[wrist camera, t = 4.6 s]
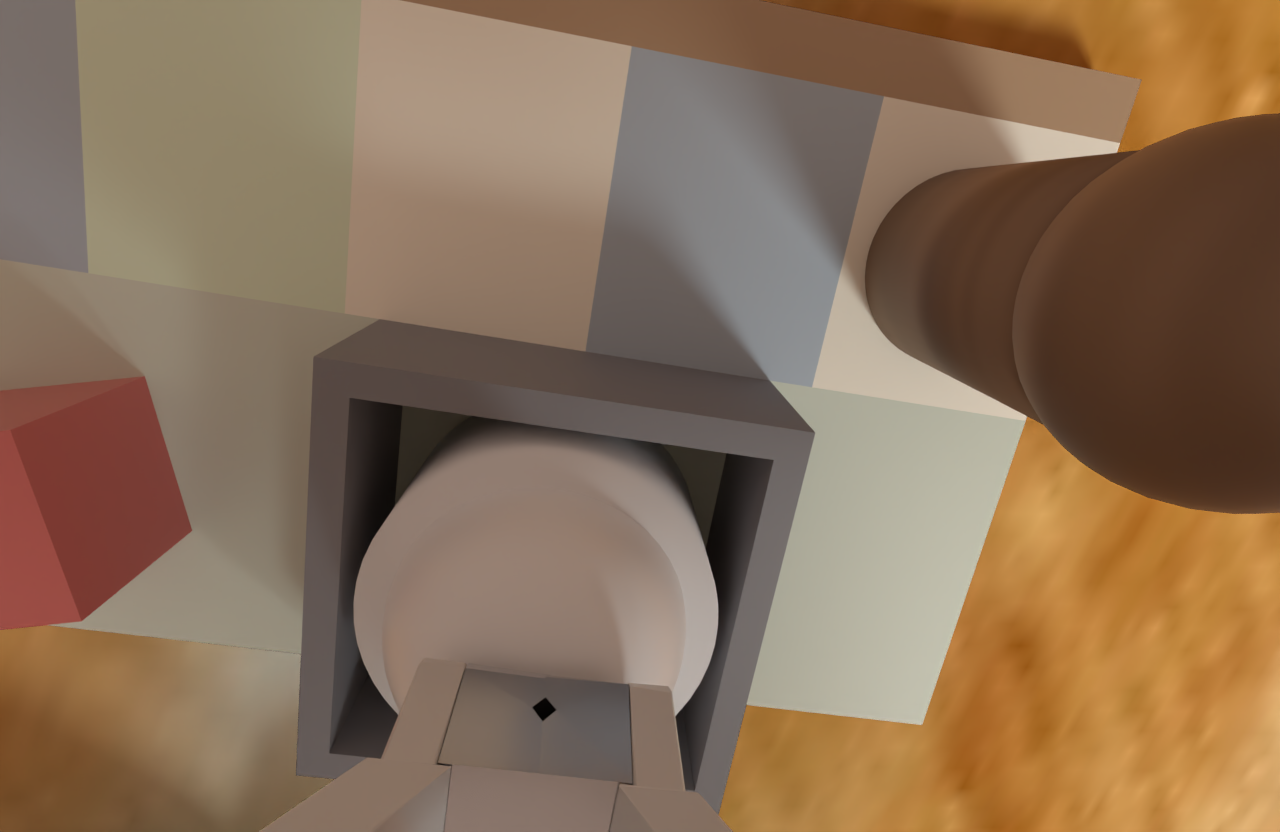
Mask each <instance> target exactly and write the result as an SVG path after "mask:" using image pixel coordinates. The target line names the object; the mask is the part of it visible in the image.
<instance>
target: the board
mask: <svg viewBox="0 0 1280 832" xmlns="http://www.w3.org/2000/svg"><path fill="white" fill-rule="evenodd" d="M1140 83H1141V79H1136V78H1131V77H1126V76H1121V75H1117V74H1112V73H1107V72H1102V71H1097V70H1093V69H1088V68H1083V67H1078V66H1073V65H1068V64H1064V63H1059V62H1054V61H1049V60H1044V59H1040V58H1035V57H1030V56H1025V55H1020V54H1016V53H1011V52H1006V51H1001V50H996V49H992V48H987V47H982V46H977V45H972V44H968V43H963V42H958V41H953V40H948V39H944V38H939V37H934V36H929V35H924V34H920V33H915V32H910V31H905V30H900V29H895V28H891V27H886V26H881V25H876V24H871V23H867V22H862V21H857V20H852V19H847V18H843V17H838V16H833V15H828V14H823V13H819V12H814V11H809V10H804V9H799V8H795V7H790V6H785V5H780V4H775V3H771V2H766V1H761V0H0V391H2V390H12V389H22V388H32V387H42V386H52V385H62V384H72V383H82V382H92V381H102V380H112V379H122V378H132V377H142V376H145V378H146V382H147V385H148V388H149V391H150V395H151V398H152V401H153V405H154V408H155V411H156V414H157V418H158V421H159V424H160V427H161V431H162V434H163V437H164V440H165V444H166V447H167V450H168V453H169V457H170V460H171V463H172V466H173V470H174V473H175V476H176V479H177V483H178V486H179V489H180V492H181V496H182V499H183V502H184V505H185V509H186V512H187V515H188V519H189V522H190V525H191V528H192V531H191V532H190V533H189V534H188V535H186V536H185V537H184V538H183V539H182V540H180V541H179V542H178V543H177V544H175V545H174V546H173V547H172V548H171V549H169V550H168V551H167V552H166V553H164V554H163V555H162V556H161V557H160V558H158V559H157V560H156V561H155V562H153V563H152V564H151V565H150V566H149V567H147V568H146V569H145V570H144V571H142V572H141V573H140V574H139V575H138V576H136V577H135V578H134V579H133V580H132V581H130V582H129V583H128V584H127V585H125V586H124V587H123V588H122V589H121V590H119V591H118V592H117V593H116V594H114V595H113V596H112V597H111V598H110V599H108V600H107V601H106V602H105V603H103V604H102V605H101V606H100V607H99V608H97V609H96V610H95V611H94V612H92V613H91V614H90V615H89V616H88V617H86V618H85V619H84V620H83V621H80V622H71V623H61V624H52V625H50V626H59V627H68V628H76V629H85V630H94V631H103V632H111V633H120V634H129V635H138V636H147V637H155V638H164V639H173V640H182V641H190V642H199V643H208V644H217V645H225V646H234V647H243V648H252V649H261V650H269V651H278V652H287V653H296V654H301V668H300V692H299V716H298V740H297V764H296V775H298V776H308V777H318V778H329V779H336V778H338V777H339V776H341V775H342V774H343V773H345V772H346V771H348V770H349V769H351V768H352V767H354V766H355V765H357V764H358V763H360V762H361V761H363V760H364V759H365V758H378V759H381V757H382V755H383V752H384V750H385V747H386V745H387V742H388V740H389V737H390V735H391V732H392V730H393V727H394V725H395V722H396V720H397V717H398V714H397V713H396V712H395V711H394V710H393V708H392V707H391V706H390V705H389V704H388V703H387V702H386V700H385V699H384V698H383V696H382V695H381V693H380V692H379V690H378V689H377V687H376V686H375V684H374V683H373V681H372V679H371V677H370V675H369V673H368V671H367V669H366V667H365V665H364V663H363V660H362V657H361V654H360V650H359V647H358V644H357V639H356V633H355V627H354V604H353V601H354V594H355V587H356V580H357V577H358V574H359V570H360V567H361V564H362V561H363V558H364V556H365V554H366V552H367V550H368V548H369V546H370V544H371V542H372V540H373V538H374V537H375V535H376V534H377V532H378V531H379V529H380V528H381V526H382V525H383V523H384V522H385V520H386V519H387V517H388V516H389V514H390V513H391V511H392V510H393V508H394V507H395V505H396V504H397V502H398V501H399V499H400V498H401V496H402V495H403V493H404V492H405V490H406V489H407V487H408V486H409V484H410V483H411V481H412V480H413V478H414V477H415V475H416V474H417V472H418V471H419V469H420V468H421V466H422V465H423V463H424V462H425V461H426V459H427V458H428V456H429V455H430V453H431V452H432V450H433V449H434V448H435V447H436V446H437V444H438V443H439V442H440V441H441V440H442V439H443V438H444V437H445V436H446V435H447V434H448V433H449V432H450V431H452V430H453V429H454V428H455V427H456V426H458V425H459V424H460V423H462V422H463V421H465V420H466V419H468V418H470V417H471V416H477V417H484V418H491V419H498V420H504V421H511V422H518V423H525V424H532V425H538V426H545V427H552V428H559V429H566V430H572V431H579V432H586V433H593V434H600V435H606V436H613V437H620V438H627V439H634V440H640V441H647V442H654V443H661V444H662V445H663V446H664V447H665V449H666V450H667V451H668V452H669V453H670V455H671V456H672V458H673V459H674V461H675V462H676V464H677V465H678V467H679V469H680V471H681V473H682V475H683V477H684V479H685V481H686V484H687V486H688V489H689V493H690V496H691V499H692V503H693V506H694V510H695V514H696V517H697V521H698V524H699V528H700V531H701V535H702V539H703V542H704V546H705V549H706V553H707V556H708V560H709V564H710V567H711V571H712V574H713V578H714V581H715V586H716V592H717V599H718V629H717V636H716V642H715V647H714V650H713V653H712V657H711V660H710V663H709V666H708V668H707V670H706V672H705V674H704V676H703V678H702V681H701V683H700V684H699V686H698V687H697V689H696V690H695V692H694V693H693V695H692V697H691V698H690V700H689V701H688V702H687V703H686V704H685V706H684V707H683V708H682V709H681V710H680V711H679V712H678V714H677V715H676V716H675V718H676V725H677V732H678V740H679V747H680V754H681V762H682V769H683V777H684V784H685V791H689V792H697V793H699V794H700V795H701V796H702V797H703V799H704V800H705V801H706V802H707V803H708V804H709V805H710V806H711V807H712V809H713V810H714V811H715V812H716V813H717V814H718V815H719V811H720V807H721V803H722V799H723V795H724V791H725V787H726V783H727V779H728V775H729V771H730V767H731V763H732V759H733V755H734V751H735V748H736V744H737V740H738V736H739V732H740V728H741V724H742V720H743V716H744V712H745V708H746V705H752V706H760V707H769V708H778V709H787V710H795V711H804V712H813V713H822V714H830V715H839V716H848V717H857V718H866V719H874V720H883V721H892V722H901V723H909V724H918V725H922V724H923V721H924V718H925V715H926V712H927V709H928V706H929V703H930V700H931V697H932V694H933V691H934V688H935V685H936V682H937V679H938V677H939V674H940V671H941V668H942V665H943V662H944V659H945V656H946V653H947V650H948V647H949V644H950V641H951V638H952V635H953V632H954V630H955V627H956V624H957V621H958V618H959V615H960V612H961V609H962V606H963V603H964V600H965V597H966V594H967V591H968V588H969V586H970V583H971V580H972V577H973V574H974V571H975V568H976V565H977V562H978V559H979V556H980V553H981V550H982V547H983V544H984V541H985V539H986V536H987V533H988V530H989V527H990V524H991V521H992V518H993V515H994V512H995V509H996V506H997V503H998V500H999V497H1000V494H1001V492H1002V489H1003V486H1004V483H1005V480H1006V477H1007V474H1008V471H1009V468H1010V465H1011V462H1012V459H1013V456H1014V453H1015V450H1016V447H1017V445H1018V442H1019V439H1020V436H1021V433H1022V430H1023V427H1024V424H1025V421H1026V418H1027V416H1026V415H1024V414H1022V413H1020V412H1018V411H1016V410H1014V409H1012V408H1010V407H1008V406H1006V405H1004V404H1002V403H1001V402H999V401H997V400H995V399H993V398H991V397H989V396H987V395H985V394H983V393H981V392H979V391H977V390H975V389H973V388H971V387H969V386H967V385H966V384H964V383H962V382H960V381H958V380H956V379H954V378H952V377H950V376H948V375H946V374H944V373H942V372H940V371H938V370H936V369H934V368H933V367H931V366H929V365H927V364H925V363H923V362H921V361H919V360H917V359H915V358H913V357H911V356H909V355H908V354H906V353H904V352H903V351H901V350H899V349H898V348H897V347H896V346H895V345H893V344H892V343H891V342H890V341H889V340H888V339H887V338H886V337H885V335H884V334H883V333H882V332H881V330H880V329H879V327H878V326H877V324H876V322H875V320H874V318H873V316H872V314H871V311H870V308H869V305H868V301H867V296H866V290H865V270H866V261H867V257H868V252H869V249H870V246H871V243H872V240H873V238H874V236H875V234H876V232H877V230H878V228H879V226H880V224H881V222H882V221H883V219H884V218H885V216H886V215H887V213H888V212H889V211H890V210H891V209H892V207H893V206H894V205H895V204H896V203H897V202H898V201H899V200H900V199H901V198H902V197H903V196H904V195H905V194H907V193H908V192H909V191H911V190H912V189H913V188H915V187H916V186H917V185H919V184H921V183H923V182H924V181H926V180H928V179H930V178H932V177H935V176H937V175H940V174H942V173H946V172H950V171H954V170H961V169H969V168H978V167H988V166H997V165H1006V164H1016V163H1025V162H1035V161H1044V160H1054V159H1063V158H1072V157H1082V156H1091V155H1101V154H1110V153H1117V151H1118V148H1119V145H1120V142H1121V139H1122V136H1123V133H1124V130H1125V127H1126V124H1127V121H1128V119H1129V116H1130V113H1131V110H1132V107H1133V104H1134V101H1135V98H1136V95H1137V92H1138V89H1139V86H1140Z"/></svg>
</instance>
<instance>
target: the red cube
mask: <svg viewBox="0 0 1280 832" xmlns="http://www.w3.org/2000/svg"><path fill="white" fill-rule="evenodd" d="M191 531H192V528H191V525H190V522H189V519H188V515H187V512H186V509H185V505H184V502H183V499H182V496H181V492H180V489H179V486H178V483H177V479H176V476H175V473H174V470H173V466H172V463H171V460H170V457H169V453H168V450H167V447H166V444H165V440H164V437H163V434H162V431H161V427H160V424H159V421H158V418H157V414H156V411H155V408H154V405H153V401H152V398H151V395H150V391H149V388H148V385H147V382H146V378H145V376H142V377H132V378H122V379H112V380H102V381H92V382H82V383H72V384H62V385H52V386H42V387H32V388H22V389H12V390H2V391H0V630H4V629H14V628H23V627H33V626H42V625H52V624H61V623H71V622H80V621H83V620H84V619H85V618H86V617H88V616H89V615H90V614H91V613H92V612H94V611H95V610H96V609H97V608H99V607H100V606H101V605H102V604H103V603H105V602H106V601H107V600H108V599H110V598H111V597H112V596H113V595H114V594H116V593H117V592H118V591H119V590H121V589H122V588H123V587H124V586H125V585H127V584H128V583H129V582H130V581H132V580H133V579H134V578H135V577H136V576H138V575H139V574H140V573H141V572H142V571H144V570H145V569H146V568H147V567H149V566H150V565H151V564H152V563H153V562H155V561H156V560H157V559H158V558H160V557H161V556H162V555H163V554H164V553H166V552H167V551H168V550H169V549H171V548H172V547H173V546H174V545H175V544H177V543H178V542H179V541H180V540H182V539H183V538H184V537H185V536H186V535H188V534H189V533H190V532H191Z"/></svg>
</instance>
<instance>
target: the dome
mask: <svg viewBox="0 0 1280 832" xmlns="http://www.w3.org/2000/svg"><path fill="white" fill-rule="evenodd" d="M353 604H354V627H355V633H356V639H357V644H358V647H359V650H360V654H361V657H362V660H363V663H364V665H365V667H366V669H367V671H368V673H369V675H370V677H371V679H372V681H373V683H374V684H375V686H376V687H377V689H378V690H379V692H380V693H381V695H382V696H383V698H384V699H385V700H386V702H387V703H388V704H389V705H390V706H391V707H392V708H393V710H394V711H395V712H396V713H397V714H398V715H399V712H400V710H401V707H402V705H403V702H404V700H405V697H406V695H407V692H408V690H409V687H410V685H411V682H412V680H413V677H414V675H415V672H416V670H417V667H418V665H419V664H420V663H421V661H422V660H423V659H424V658H432V659H440V660H448V661H456V662H464V663H466V664H467V665H468V663H472V664H479V665H487V666H494V667H501V668H508V669H515V670H522V671H529V672H536V673H543V674H550V675H552V676H561V677H569V678H578V679H587V680H596V681H604V682H613V683H622V684H628V683H638V684H649V685H661V686H668V687H669V688H670V690H671V691H672V695H673V703H674V710H675V716H676V715H677V714H678V712H679V711H680V710H681V709H682V708H683V707H684V706H685V704H686V703H687V702H688V701H689V700H690V698H691V697H692V695H693V693H694V692H695V690H696V689H697V687H698V686H699V684H700V683H701V681H702V678H703V676H704V674H705V672H706V670H707V668H708V666H709V663H710V660H711V657H712V653H713V650H714V647H715V642H716V636H717V629H718V599H717V592H716V586H715V581H714V578H713V574H712V571H711V567H710V564H709V560H708V556H707V553H706V549H705V546H704V542H703V539H702V535H701V531H700V528H699V524H698V521H697V517H696V514H695V510H694V506H693V503H692V499H691V496H690V493H689V489H688V486H687V484H686V481H685V479H684V477H683V475H682V473H681V471H680V469H679V467H678V465H677V464H676V462H675V461H674V459H673V458H672V456H671V455H670V453H669V452H668V451H667V450H666V449H665V447H664V446H663V445H662V444H661V443H654V442H647V441H640V440H634V439H627V438H620V437H613V436H606V435H600V434H593V433H586V432H579V431H572V430H566V429H559V428H552V427H545V426H538V425H532V424H525V423H518V422H511V421H504V420H498V419H491V418H484V417H477V416H471V417H470V418H468V419H466V420H465V421H463V422H462V423H460V424H459V425H458V426H456V427H455V428H454V429H453V430H452V431H450V432H449V433H448V434H447V435H446V436H445V437H444V438H443V439H442V440H441V441H440V442H439V443H438V444H437V446H436V447H435V448H434V449H433V450H432V452H431V453H430V455H429V456H428V458H427V459H426V461H425V462H424V463H423V465H422V466H421V468H420V469H419V471H418V472H417V474H416V475H415V477H414V478H413V480H412V481H411V483H410V484H409V486H408V487H407V489H406V490H405V492H404V493H403V495H402V496H401V498H400V499H399V501H398V502H397V504H396V505H395V507H394V508H393V510H392V511H391V513H390V514H389V516H388V517H387V519H386V520H385V522H384V523H383V525H382V526H381V528H380V529H379V531H378V532H377V534H376V535H375V537H374V538H373V540H372V542H371V544H370V546H369V548H368V550H367V552H366V554H365V556H364V558H363V561H362V564H361V567H360V570H359V574H358V577H357V580H356V587H355V594H354V601H353Z"/></svg>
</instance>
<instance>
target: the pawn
mask: <svg viewBox="0 0 1280 832" xmlns="http://www.w3.org/2000/svg"><path fill="white" fill-rule="evenodd" d="M865 290H866V296H867V301H868V305H869V308H870V311H871V314H872V316H873V318H874V320H875V322H876V324H877V326H878V327H879V329H880V330H881V332H882V333H883V334H884V335H885V337H886V338H887V339H888V340H889V341H890V342H891V343H892V344H893V345H895V346H896V347H897V348H898V349H899V350H901V351H903V352H904V353H906V354H908V355H909V356H911V357H913V358H915V359H917V360H919V361H921V362H923V363H925V364H927V365H929V366H931V367H933V368H934V369H936V370H938V371H940V372H942V373H944V374H946V375H948V376H950V377H952V378H954V379H956V380H958V381H960V382H962V383H964V384H966V385H967V386H969V387H971V388H973V389H975V390H977V391H979V392H981V393H983V394H985V395H987V396H989V397H991V398H993V399H995V400H997V401H999V402H1001V403H1002V404H1004V405H1006V406H1008V407H1010V408H1012V409H1014V410H1016V411H1018V412H1020V413H1022V414H1024V415H1026V416H1028V417H1030V418H1032V419H1034V420H1035V421H1037V422H1039V423H1041V424H1043V425H1044V426H1045V427H1046V428H1047V429H1048V430H1049V431H1050V433H1051V434H1052V435H1053V436H1054V437H1055V438H1056V439H1057V441H1058V442H1059V443H1060V444H1061V445H1062V446H1063V447H1064V448H1065V449H1066V450H1067V451H1069V452H1070V453H1071V454H1072V455H1073V456H1074V457H1076V458H1077V459H1078V460H1079V461H1080V462H1082V463H1083V464H1085V465H1086V466H1088V467H1089V468H1091V469H1092V470H1093V471H1095V472H1097V473H1098V474H1100V475H1102V476H1103V477H1105V478H1106V479H1108V480H1110V481H1111V482H1113V483H1116V484H1118V485H1120V486H1122V487H1125V488H1127V489H1129V490H1131V491H1134V492H1136V493H1139V494H1141V495H1143V496H1146V497H1148V498H1151V499H1155V500H1159V501H1163V502H1166V503H1170V504H1174V505H1178V506H1182V507H1185V508H1189V509H1197V510H1205V511H1213V512H1223V513H1232V514H1259V513H1280V113H1279V114H1263V115H1255V116H1247V117H1239V118H1233V119H1229V120H1224V121H1220V122H1216V123H1212V124H1208V125H1204V126H1200V127H1196V128H1193V129H1189V130H1186V131H1184V132H1181V133H1179V134H1176V135H1174V136H1171V137H1169V138H1166V139H1164V140H1162V141H1159V142H1157V143H1154V144H1152V145H1149V146H1147V147H1145V148H1143V149H1141V150H1138V151H1129V152H1119V153H1110V154H1101V155H1091V156H1082V157H1072V158H1063V159H1054V160H1044V161H1035V162H1025V163H1016V164H1006V165H997V166H988V167H978V168H969V169H961V170H954V171H950V172H946V173H942V174H940V175H937V176H935V177H932V178H930V179H928V180H926V181H924V182H923V183H921V184H919V185H917V186H916V187H915V188H913V189H912V190H911V191H909V192H908V193H907V194H905V195H904V196H903V197H902V198H901V199H900V200H899V201H898V202H897V203H896V204H895V205H894V206H893V207H892V209H891V210H890V211H889V212H888V213H887V215H886V216H885V218H884V219H883V221H882V222H881V224H880V226H879V228H878V230H877V232H876V234H875V236H874V238H873V240H872V243H871V246H870V249H869V252H868V257H867V261H866V270H865Z"/></svg>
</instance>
